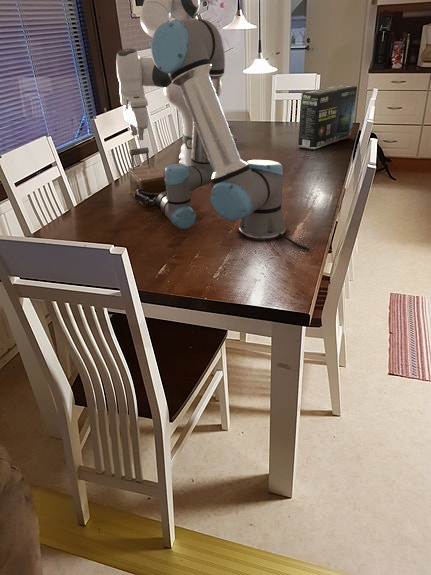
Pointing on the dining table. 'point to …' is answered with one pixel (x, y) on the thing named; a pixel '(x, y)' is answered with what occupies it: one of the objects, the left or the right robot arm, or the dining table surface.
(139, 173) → the lid
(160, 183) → the chest
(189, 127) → the left robot arm
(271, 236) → the right robot arm
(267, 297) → the dining table surface
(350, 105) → the router box
